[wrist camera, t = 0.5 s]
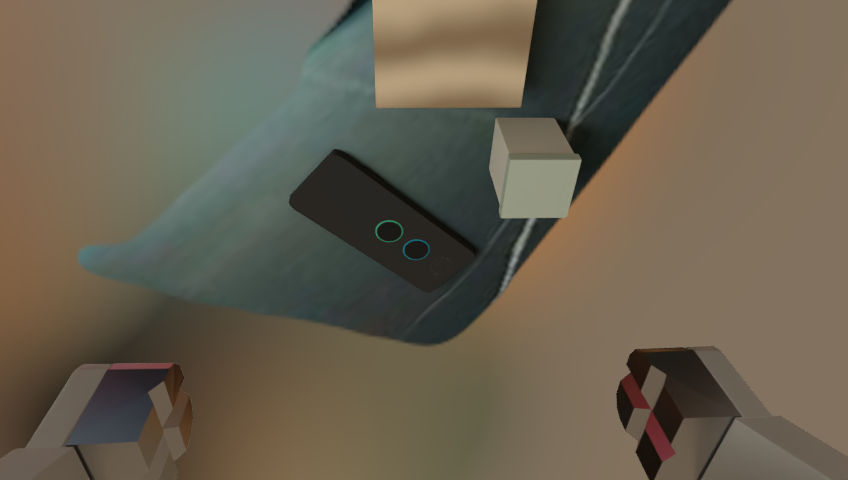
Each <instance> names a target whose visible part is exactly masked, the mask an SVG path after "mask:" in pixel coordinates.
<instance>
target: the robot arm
mask: <svg viewBox="0 0 848 480" xmlns="http://www.w3.org/2000/svg"><path fill="white" fill-rule="evenodd" d="M626 365H627V366H628V368H629V370H630V373H629V374H628V375H627V376H626V377H624V378H623V379H622V380H621V381H620V383H619V386H618V390H617V393H616V396H617V397H616V398H617V410H618V414H619V418H620V420H621V422H622V425H623V427H624V429H625V431H626V432H627V433H629V434H630V435H631V436H633V437H634V438H635V439H636V440H638V445H637V449H636V454H637V456H638V458H639V460H640V462H641V464H642V466H643V468H644V470H645V472H646V474H647V477H648V479H649V480H848V457H847V456H846V455H844V454H842V453H840V452H839V451H837V450H836V449H834V448H832V447H831V446H829V445H828V444H826V443H824V442H822V441H821V440H819V439H818V438H816V437H814V436H812V435H811V434H809V433H808V432H806V431H804V430H803V429H801V428H799V427H798V426H796V425H794V424H793V423H791V422H790V421H788V420H786V419H785V418H783V417H781V416H772V415H771V414H770V413H769V411H768V410H767V409H766V408H765V406H764V405H763V404H762V402H761V401H760V400H759V399H758V397H757V396H756V395H755V394H754V392H753V391H752V390H751V389H750V387H749V386H748V385H747V383H746V382H745V381H744V380H743V378H742V377H741V376H740V374H739V373H738V372H737V371H736V370H735V368H734V367H733V366H732V364H731V363H730V362H729V361H728V359H727V358H726V357H725V355H724V354H723V353H722V352H721V351H720V350H719V349H717V348H715V347H714V346H705V347H687V348H683V347H680V348H679V347H678V348H653V349H635V350H634V351H633V352H632V353H631V354H630V355H629V358H628V361H627V363H626ZM183 381H184V376H183V373H182V370H181V367H180V365H179V364H175V363H133V364H131V363H126V364H124V363H121V364H120V363H119V364H83V365H82V366H80V367H79V368H78V369H76V370H75V371H74V372H73V374H72V375H71V377H70V379H69V380H68V382H67V383H66V385H65V386H64V388H63V390H62V391H61V393H60V394H59V396H58V398H57V399H56V401H55V402H54V404H53V405H52V407H51V408H50V410H49V412H48V413H47V415H46V416H45V418H44V420H43V421H42V423H41V424H40V426H39V427H38V429H37V431H36V432H35V434H34V435H33V437H32V439H31V440H30V442H29V443H28V445H27V446H26V448H23V449H14V450H13V451H12V452H10V453H9V454H7V455H6V456H4V457H3V458H1V459H0V480H176V479H177V476H178V473H177V470H176V467H175V464H174V461H175V460H176V459H177V458H179V457H180V455H182V454H183V453H184V452H185V451H186V449H187V446H188V443H189V440H190V437H191V430H192V422H193V411H192V404H191V400H190V396H189V395H188V394H186V393H185V392H183V391H182V390H181V389H180V388H181V386H182V383H183Z"/></svg>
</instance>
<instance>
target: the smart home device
mask: <svg viewBox="0 0 848 480" xmlns="http://www.w3.org/2000/svg"><path fill="white" fill-rule="evenodd" d="M289 204H290V206H291V207H292V208H294V209H295V210H296V211H298V212H299V213H301V214H302V215H304V216H306V217H307V218H309V219H310V220H312V221H314V222H315V223H317V224H318V225H320V226H321V227H323V228H325V229H326V230H328V231H329V232H331V233H332V234H334V235H336V236H337V237H339V238H340V239H342V240H343V241H345V242H347V243H348V244H350V245H351V246H353V247H354V248H356V249H358V250H359V251H361V252H362V253H364V254H366V255H367V256H369V257H370V258H372V259H373V260H375V261H377V262H378V263H380V264H381V265H383V266H384V267H386V268H388V269H389V270H391V271H392V272H394V273H395V274H397V275H399V276H400V277H402V278H403V279H405V280H406V281H408V282H410V283H411V284H413V285H414V286H416V287H418V288H419V289H421V290H422V291H425V292H428V293H430V292H432V291H433V290H435V289H436V288H437V287H439V286H440V285H441V284H442V283H444V282H445V281H446V280H448V279H449V278H450V277H451V276H453V275H454V274H455V273H457V272H458V271H459V270H460V269H462V268H463V267H464V266H466V265H467V264H468V263H470V262H471V261H472V260H473V259H475V253H474V249H473V247H472V246H471V245H470V244H468V243H467V242H465V241H464V240H463V239H461V238H460V237H459V236H457V235H456V234H455V233H453V232H452V231H451V230H449V229H448V228H446V227H445V226H444V225H442V224H441V223H440V222H438V221H437V220H436V219H434V218H433V217H431V216H430V215H429V214H427V213H426V212H425V211H423V210H422V209H421V208H419V207H418V206H417V205H415V204H414V203H412V202H411V201H410V200H408V199H407V198H406V197H404V196H403V195H402V194H400V193H399V192H398V191H396V190H395V189H393V188H392V187H391V186H389V185H388V184H387V183H385V182H384V180H382V179H381V178H380V177H378V176H377V175H376V174H374V173H373V172H372V171H370V170H369V169H368V168H366V167H364V166H362V165H361V164H359V163H358V162H357V161H355V160H354V159H353V158H351V157H350V156H349V155H347V154H346V153H344V152H342V151H340V150H337V149H334V150H333V151H332V152H331V153H330V154H329V155H328V156H327V157H326V158H325V159H324V160H323V161H322V162H321V163H320V164H319V165H318V167H317V168H316V169H315V170H314V171H313V172H312V173H311V174H310V175H309V176H308V177H307V178H306V179H305V180H304V181H303V182H302V184H301V185H300V186H299V187H298V188H297V189H296V190H295V191H294V192H293V193H292V194H291V195H290V200H289Z"/></svg>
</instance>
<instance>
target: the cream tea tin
mask: <svg viewBox="0 0 848 480" xmlns="http://www.w3.org/2000/svg"><path fill="white" fill-rule="evenodd" d="M581 161H582V159H581V158H580V156H579V154H574V152H573V151H572V149H571V147H570V145H569V143H568V142H567V140H566V138H565V136H564V134H563V133H562V131H561V129H560V127H559V125H558V124H557V122H556V120H555V118H496V122H495V129H494V137H493V144H492V152H491V159H490V166H489V170H490V173H491V177H492V180H493V183H494V187H495V190H496V193H497V197H498V200H499V203H500V208H499V213H500V217H501V218H566V217H567V214H568V210H569V206H570V203H571V199H572V195H573V191H574V187H575V184H576V180H577V176H578V172H579V168H580V164H581Z"/></svg>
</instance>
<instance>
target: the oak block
mask: <svg viewBox="0 0 848 480" xmlns="http://www.w3.org/2000/svg"><path fill="white" fill-rule="evenodd" d="M372 1H373V30H374V58H375V87H376V108H476V107H521V102H522V96H523V89H524V83H525V76H526V70H527V63H528V57H529V50H530V44H531V37H532V31H533V24H534V18H535V11H536V5H537V0H372Z"/></svg>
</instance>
